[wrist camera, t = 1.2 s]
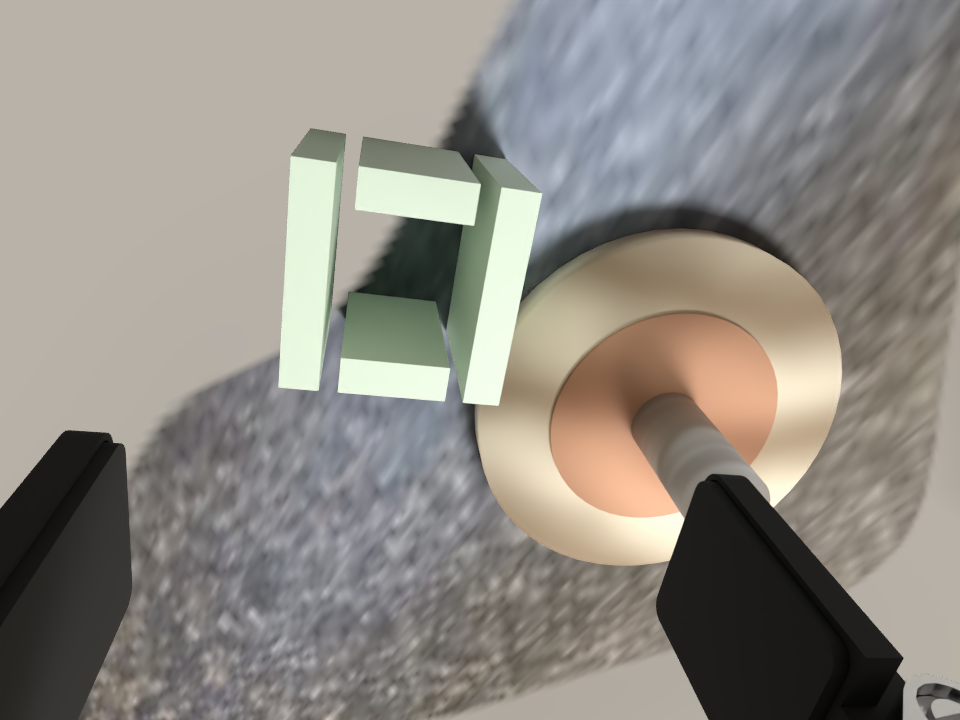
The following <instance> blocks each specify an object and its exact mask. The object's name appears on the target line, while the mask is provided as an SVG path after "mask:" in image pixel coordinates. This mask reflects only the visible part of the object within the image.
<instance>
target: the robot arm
mask: <svg viewBox="0 0 960 720" xmlns="http://www.w3.org/2000/svg"><path fill="white" fill-rule="evenodd" d="M131 590H132V571H131V550H130V530H129V510H128V490H127V470H126V452H125V447H124V445H123V444H119V443H113V440H112V437H111V435H110V434H109V433H100V432H86V431H71V430H68V431H65V432H63V433H62V434H61V435H60V437H59V438H58V439H57V440H56V442H55V443H54V444H53V445H52V446H51V448H50V449H49V450H48V451H47V452H46V454H45V455H44V456H43V458H42V459H41V460H40V461H39V462H38V464H37V465H36V466H35V467H34V468H33V470H32V471H31V472H30V473H29V475H28V476H27V477H26V478H25V479H24V481H23V482H22V483H21V484H20V486H19V487H18V488H17V489H16V491H15V492H14V493H13V494H12V495H11V497H10V498H9V499H8V500H7V501H6V503H5V504H4V505H3V506H2V508H1V509H0V720H78V718H79V716H80V713H81V711H82V709H83V707H84V704H85V702H86V700H87V698H88V695H89V693H90V691H91V689H92V686H93V684H94V682H95V680H96V677H97V675H98V673H99V671H100V668H101V666H102V664H103V662H104V659H105V657H106V655H107V653H108V650H109V648H110V646H111V644H112V641H113V639H114V637H115V635H116V632H117V630H118V628H119V626H120V623H121V621H122V619H123V617H124V614H125V612H126V610H127V607H128V605H129V601H130V597H131ZM656 609H657V615H658V618H659V621H660V623H661V625H662V627H663V629H664V631H665V633H666V635H667V637H668V639H669V641H670V643H671V645H672V647H673V649H674V651H675V653H676V655H677V657H678V659H679V661H680V663H681V665H682V667H683V669H684V671H685V673H686V675H687V677H688V679H689V681H690V683H691V685H692V687H693V689H694V691H695V693H696V695H697V697H698V699H699V701H700V703H701V705H702V707H703V709H704V711H705V713H706V715H707V717H708V719H709V720H960V684H959V683H957V682H954V681H952V680H949V679H947V678H944V677H940V676H935V675H930V674H921V675H914V676H912V677H911V678H909V679H907V680H906V682H905V681H904V680H903V679H902V678H901V677H900V675H899V674H898V673H897V672H896V671H897V669H898V667H899V665H900V664H901V662H902V660H903V657H902V656H901V655H900V653H899V652H898V651H897V650H896V649H895V648H894V647H893V645H892V644H891V643H890V642H889V641H888V640H887V639H886V637H885V636H884V635H883V634H882V633H881V631H880V630H879V629H878V628H877V627H876V626H875V625H874V624H873V623H872V621H871V620H870V619H869V618H868V616H867V615H866V614H865V613H864V612H863V611H862V610H861V608H860V607H859V606H858V605H857V604H856V603H855V602H854V600H853V599H852V598H851V597H850V596H849V595H848V593H847V592H846V591H845V590H844V589H843V588H842V586H841V585H840V584H839V583H838V582H837V581H836V580H835V578H834V577H833V576H832V575H831V574H830V573H829V571H828V570H827V569H826V568H825V567H824V566H823V565H822V563H821V562H820V561H819V560H818V559H817V558H816V556H815V555H814V554H813V553H812V552H811V551H810V550H809V548H808V547H807V546H806V545H805V544H804V543H803V541H802V540H801V539H800V538H799V537H798V536H797V535H796V533H795V532H794V531H793V530H792V529H791V528H790V527H789V525H788V524H787V523H786V522H785V521H784V520H783V518H782V517H781V516H780V515H779V514H778V513H777V512H776V510H775V509H774V508H773V507H772V506H771V505H770V503H769V502H768V501H767V500H766V499H765V498H764V497H763V495H762V494H761V493H760V492H759V491H758V490H757V488H756V487H755V486H754V485H753V484H752V483H751V482H750V480H749V479H747V478H746V477H745V476H741V475H728V474H710V475H709V476H708V477H707V478H706V479H705V481H701V482H699V483H698V484H697V486H696V488H695V491H694V494H693V496H692V499H691V502H690V505H689V508H688V511H687V514H686V516H685V519H684V522H683V525H682V528H681V531H680V533H679V536H678V539H677V542H676V545H675V548H674V550H673V553H672V556H671V559H670V562H669V565H668V568H667V570H666V573H665V576H664V579H663V582H662V585H661V587H660V590H659V593H658V596H657V601H656Z"/></svg>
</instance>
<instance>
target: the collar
mask: <svg viewBox="0 0 960 720" xmlns="http://www.w3.org/2000/svg"><path fill="white" fill-rule="evenodd" d="M345 138H346V134H343V133H336V132H329V131H324V130H317V129H310V130H309V132H308V133H307V134H306V136H305V137H304V138H303V140H302V141H301V143H300V144H299V145H298V146H297V148H296V149H295V150H294V152H293V153H292V155H291V156H290V175H289V194H288V214H287V215H288V216H287V233H286V235H287V236H286V253H285V272H284V292H283V311H282V312H283V313H282V333H281V350H280V370H279V388H291V389H303V390H315V391H318V390H319V384H320V378H321V372H322V366H323V360H324V354H325V348H326V342H327V336H328V331H329V325H330V319H331V307H332V295H333V283H334V271H335V259H336V246H337V234H338V223H339V211H340V198H341V187H342V174H343V163H344V151H345ZM357 181H358V182H357V192H356V202H355V210H360V211H367V212H375V213H382V214H389V215H397V216H404V217H411V218H419V219H426V220H433V221H441V222H448V223H456V224H463V229H462V235H461V242H460V248H459V254H458V260H457V266H456V273H455V279H454V285H453V291H452V298H451V304H450V310H449V316H448V322H447V329H446V332H447V337H448V341H449V345H450V349H451V354H452V358H453V362H454V367H455V371H456V375H457V380H458V384H459V388H460V393H461V397H462V401H463V403H471V404H483V405H495V406H499V402H500V397H501V392H502V387H503V382H504V377H505V372H506V367H507V363H508V358H509V353H510V348H511V343H512V338H513V333H514V329H515V324H516V319H517V314H518V309H519V304H520V299H521V295H522V290H523V285H524V280H525V275H526V270H527V265H528V260H529V256H530V251H531V246H532V241H533V236H534V231H535V226H536V222H537V217H538V212H539V207H540V202H541V197H542V193H541V192H540V191H539V190H538V189H537V188H536V187H535V186H534V185H533V184H532V183H531V182H530V181H529V180H528V179H527V178H526V177H525V176H524V175H523V174H521V173H520V172H519V171H518V170H517V169H516V168H515V167H514V166H513V165H512V164H511V163H510V162H509V161H508V160H507V159H502V158H495V157H489V156H483V155H476V154H474V161H473V167H472V171H471V169H470V168H469V166H468V165H467V163H466V162H465V161H464V159H463V158H462V156H461V155H460V153H459V152H457V151H451V150H444V149H438V148H432V147H425V146H419V145H412V144H406V143H400V142H393V141H387V140H381V139H374V138H368V137H363V141H362V148H361V155H360V162H359V169H358V180H357ZM449 372H450V365H449V360H448V356H447V351H446V347H445V342H444V337H443V333H442V328H441V324H440V319H439V314H438V310H437V305H436V301H427V300H418V299H409V298H400V297H391V296H382V295H374V294H365V293H356V292H349V294H348V302H347V311H346V320H345V328H344V337H343V345H342V354H341V364H340V375H339V386H338V392H339V393H351V394H363V395H375V396H387V397H399V398H411V399H423V400H435V401H445V396H446V390H447V384H448V378H449Z"/></svg>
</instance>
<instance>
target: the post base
mask: <svg viewBox="0 0 960 720" xmlns="http://www.w3.org/2000/svg"><path fill="white" fill-rule="evenodd" d="M841 378H842V364H841V350H840V345H839V340H838V335H837V331H836V329H835V326H834V323H833V321H832V318H831V316H830V313H829V311H828V310H827V308H826V306H825V305H824V303H823V301H822V299H821V298H820V296H819V295H818V293H817V292H816V291H815V290H814V289H813V288H812V286H811V285H810V284H809V283H808V282H807V281H806V279H805V278H803V277H802V276H801V275H800V274H799V273H797V272H796V271H795V270H794V269H793V268H791V267H790V266H789V265H787V264H786V263H784V262H782V261H781V260H779V259H777V258H775V257H774V256H772V255H770V254H768V253H767V252H765V251H763V250H761V249H759V248H758V247H756V246H754V245H752V244H750V243H748V242H746V241H743V240H740V239H738V238H735V237H733V236H730V235H726V234H722V233H717V232H713V231H708V230H700V229H686V228H675V229H659V230H652V231H647V232H642V233H636V234H631V235H628V236H625V237H622V238H619V239H616V240H613V241H610V242H607V243H604V244H602V245H600V246H598V247H595V248H593V249H591V250H589V251H587V252H585V253H583V254H581V255H579V256H577V257H576V258H574V259H573V260H571V261H569V262H568V263H566V264H565V265H563V266H561V267H560V268H558V269H557V270H556V271H554V272H553V273H552V274H551V275H550V276H548V277H547V278H546V279H545V280H543V281H542V282H541V283H540V284H538V285H537V286H536V287H535V288H534V289H533V290H532V291H531V292H530V293H529V294H528V295H527V296H526V297H525V299H524V300H523V301H522V302H521V303H520V304H519V309H518V314H517V319H516V324H515V329H514V333H513V338H512V343H511V348H510V353H509V358H508V363H507V367H506V372H505V377H504V382H503V387H502V392H501V397H500V402H499V406H495V405H483V404H475V410H474V411H475V432H476V438H477V443H478V448H479V453H480V457H481V461H482V465H483V469H484V472H485V475H486V478H487V480H488V483H489V486H490V489H491V490H492V492H493V494H494V496H495V498H496V499H497V501H498V503H499V505H500V506H501V508H502V509H503V510H504V511H505V513H506V514H507V515H508V516H509V518H510V519H511V520H512V521H513V522H514V523H515V524H516V525H517V526H518V527H519V528H520V529H521V530H522V531H523V532H525V533H526V534H527V535H529V536H530V537H531V538H533V539H534V540H536V541H537V542H539V543H540V544H542V545H544V546H546V547H548V548H550V549H552V550H554V551H556V552H558V553H560V554H563V555H566V556H569V557H572V558H575V559H578V560H582V561H587V562H592V563H597V564H607V565H643V564H651V563H659V562H664V561H668V560H670V559H671V556H672V553H673V550H674V548H675V545H676V542H677V539H678V536H679V533H680V531H681V528H682V525H683V522H684V519H685V516H686V514H687V511H688V508H689V505H690V502H691V499H692V496H693V494H694V491H695V488H696V486H697V484H698V483H699V482H701V481H705V479H706V478H707V477H708V476H709V475H710V474H728V475H741V476H745V477H746V478H747V479H749V480H750V482H751V483H752V484H753V485H754V486H755V487H756V488H757V490H758V491H759V492H760V493H761V494H762V495H763V497H764V498H765V499H766V500H767V501H768V502H769V503H770V505H771V506H772V507H774V506H775V505H776V504H777V503H778V502H779V501H780V500H781V499H782V498H783V497H784V496H785V495H786V494H787V493H788V492H789V491H790V490H791V489H792V488H793V487H794V486H795V484H796V483H797V482H798V481H799V480H800V478H801V477H802V476H803V475H804V473H805V472H806V471H807V469H808V468H809V466H810V465H811V463H812V462H813V460H814V459H815V457H816V456H817V454H818V452H819V450H820V448H821V446H822V444H823V442H824V440H825V439H826V437H827V435H828V432H829V429H830V427H831V424H832V421H833V419H834V416H835V412H836V408H837V404H838V400H839V396H840V388H841Z"/></svg>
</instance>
